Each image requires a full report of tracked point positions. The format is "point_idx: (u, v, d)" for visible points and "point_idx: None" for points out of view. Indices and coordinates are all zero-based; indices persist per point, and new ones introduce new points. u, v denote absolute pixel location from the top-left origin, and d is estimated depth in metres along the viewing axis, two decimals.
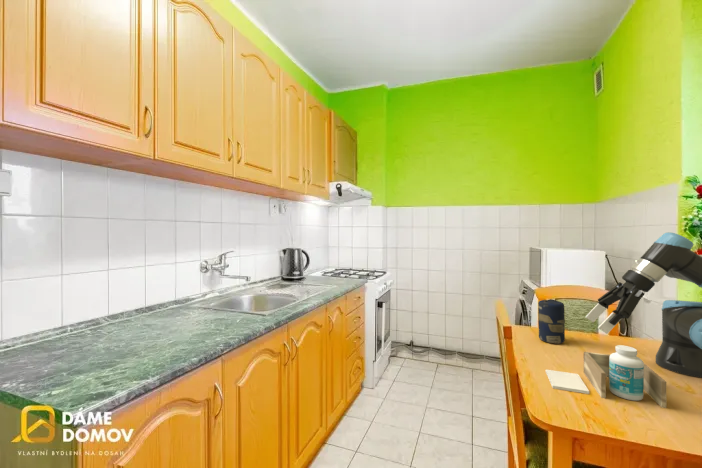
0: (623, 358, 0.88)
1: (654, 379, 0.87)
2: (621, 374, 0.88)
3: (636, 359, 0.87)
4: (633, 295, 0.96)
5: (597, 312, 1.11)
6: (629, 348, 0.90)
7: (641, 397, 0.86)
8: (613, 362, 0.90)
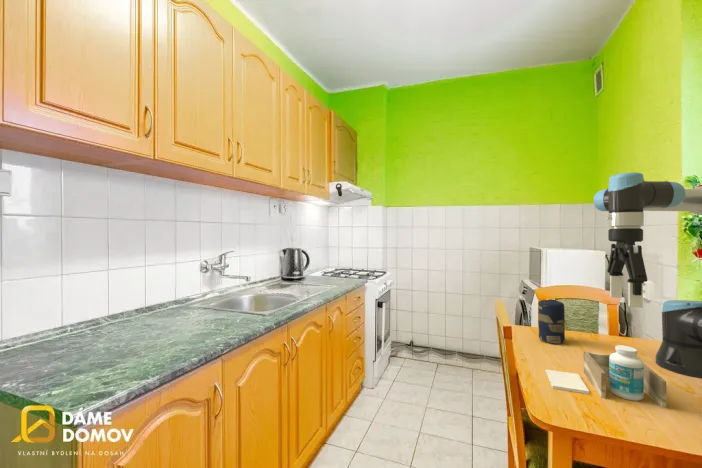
0: (623, 358, 0.88)
1: (654, 379, 0.87)
2: (621, 374, 0.88)
3: (636, 359, 0.87)
4: (632, 254, 0.84)
5: (617, 285, 0.96)
6: (629, 348, 0.90)
7: (641, 397, 0.86)
8: (613, 362, 0.90)
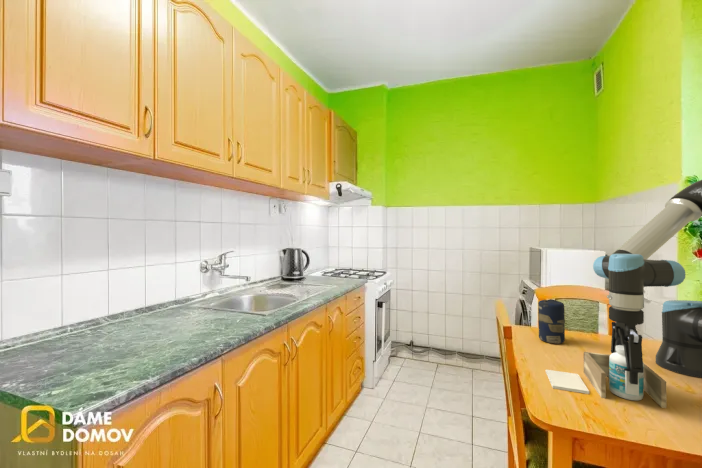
0: (623, 358, 0.88)
1: (654, 379, 0.87)
2: (621, 374, 0.88)
3: None
4: (632, 343, 0.84)
5: None
6: None
7: (641, 397, 0.86)
8: (613, 362, 0.90)
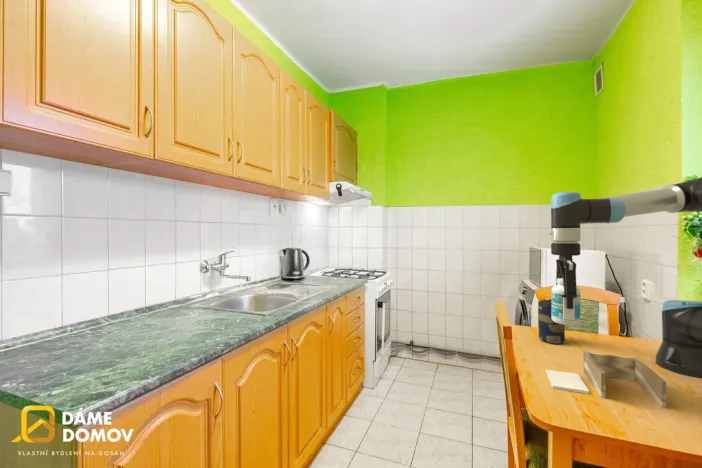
0: (561, 288, 0.96)
1: (654, 379, 0.87)
2: (559, 302, 0.95)
3: None
4: (567, 271, 0.92)
5: None
6: None
7: (577, 322, 0.94)
8: (553, 293, 0.97)
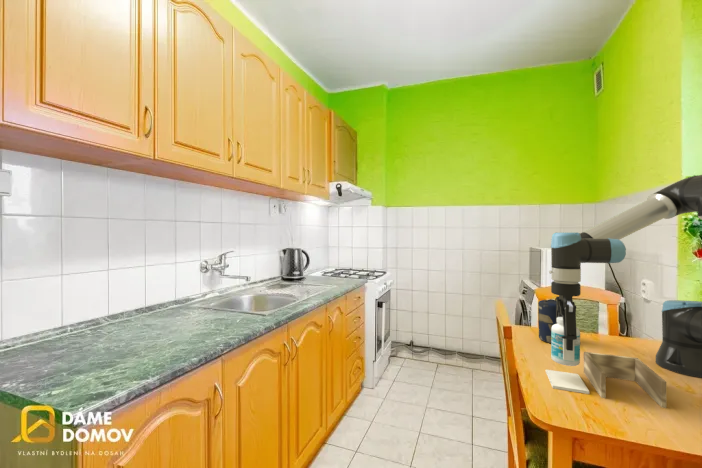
0: (561, 328, 0.96)
1: (654, 379, 0.87)
2: (559, 342, 0.96)
3: None
4: (567, 313, 0.92)
5: None
6: None
7: (577, 363, 0.94)
8: (553, 332, 0.98)
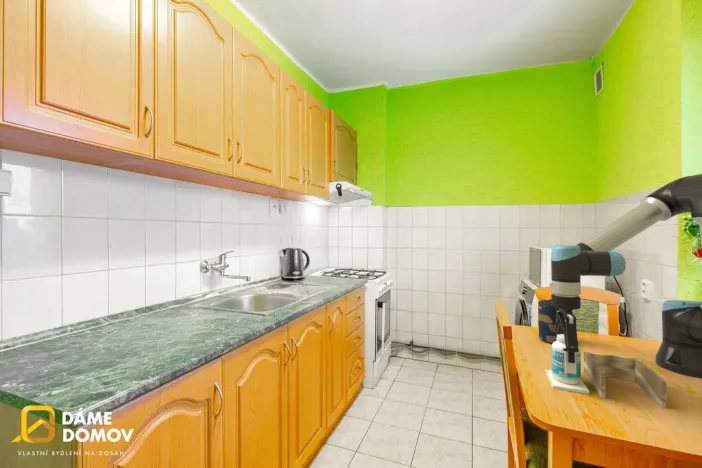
0: (562, 346, 0.96)
1: (654, 379, 0.87)
2: (560, 360, 0.95)
3: None
4: (568, 324, 0.91)
5: None
6: None
7: (578, 381, 0.94)
8: (554, 350, 0.97)
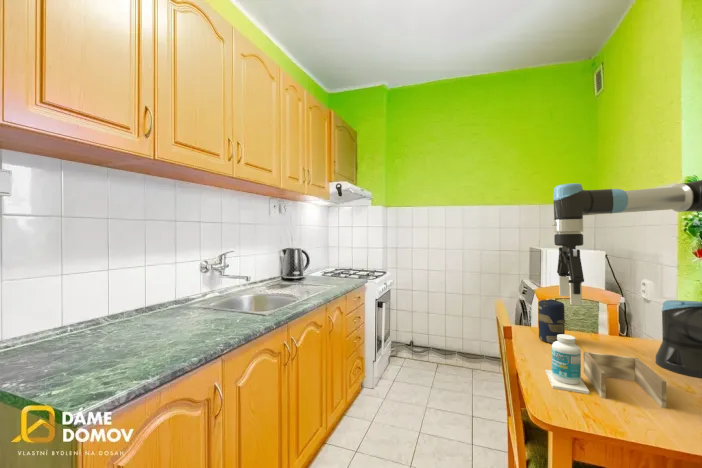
0: (562, 346, 0.96)
1: (654, 379, 0.87)
2: (560, 360, 0.95)
3: (574, 346, 0.95)
4: (572, 257, 0.93)
5: (565, 285, 1.05)
6: (568, 336, 0.97)
7: (578, 381, 0.94)
8: (554, 350, 0.97)
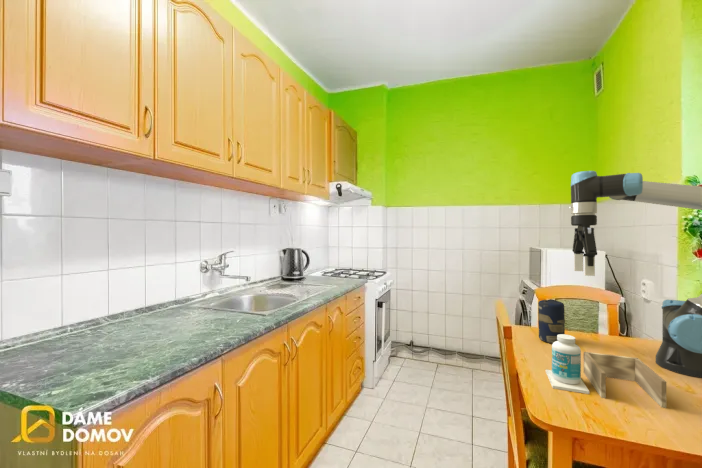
0: (562, 346, 0.96)
1: (654, 379, 0.87)
2: (560, 360, 0.95)
3: (574, 346, 0.95)
4: (587, 234, 1.07)
5: (579, 261, 1.20)
6: (568, 336, 0.97)
7: (578, 381, 0.94)
8: (554, 350, 0.97)
